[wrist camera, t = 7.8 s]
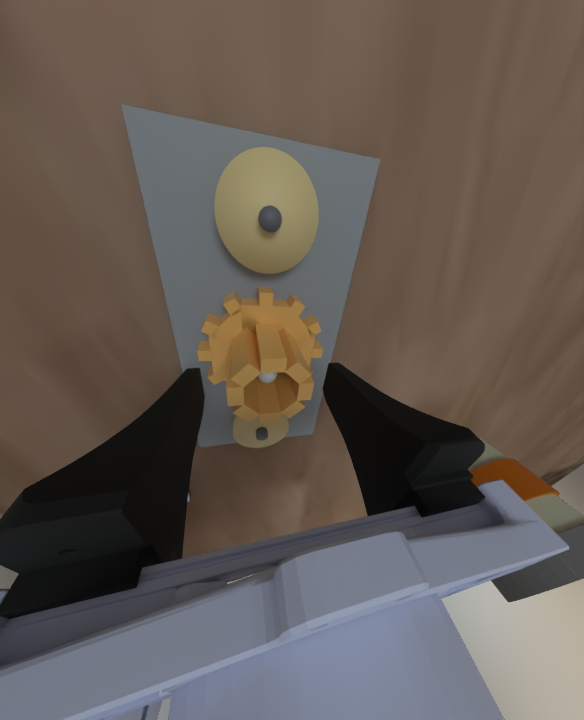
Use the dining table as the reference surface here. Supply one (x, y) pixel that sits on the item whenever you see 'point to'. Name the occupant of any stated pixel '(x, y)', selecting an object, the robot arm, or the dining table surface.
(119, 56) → the dining table surface
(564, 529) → the reusable coffee cup
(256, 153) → the gear board
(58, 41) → the dining table surface
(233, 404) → the amber gear
